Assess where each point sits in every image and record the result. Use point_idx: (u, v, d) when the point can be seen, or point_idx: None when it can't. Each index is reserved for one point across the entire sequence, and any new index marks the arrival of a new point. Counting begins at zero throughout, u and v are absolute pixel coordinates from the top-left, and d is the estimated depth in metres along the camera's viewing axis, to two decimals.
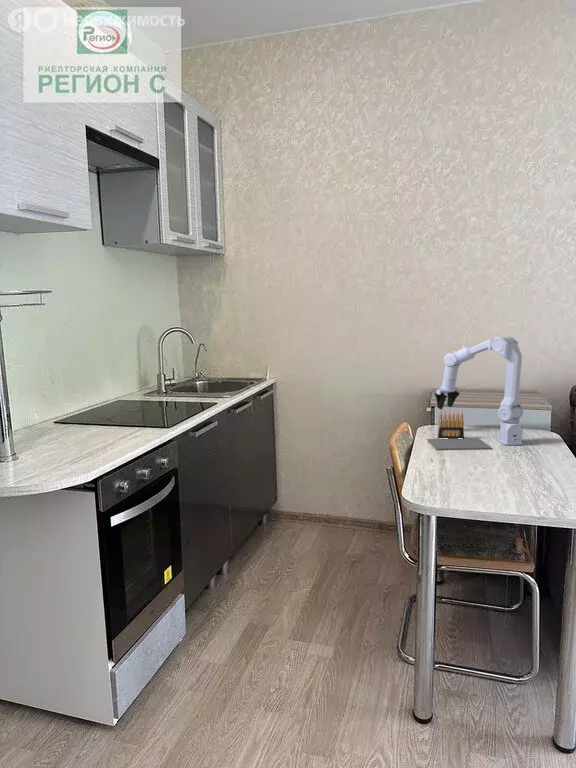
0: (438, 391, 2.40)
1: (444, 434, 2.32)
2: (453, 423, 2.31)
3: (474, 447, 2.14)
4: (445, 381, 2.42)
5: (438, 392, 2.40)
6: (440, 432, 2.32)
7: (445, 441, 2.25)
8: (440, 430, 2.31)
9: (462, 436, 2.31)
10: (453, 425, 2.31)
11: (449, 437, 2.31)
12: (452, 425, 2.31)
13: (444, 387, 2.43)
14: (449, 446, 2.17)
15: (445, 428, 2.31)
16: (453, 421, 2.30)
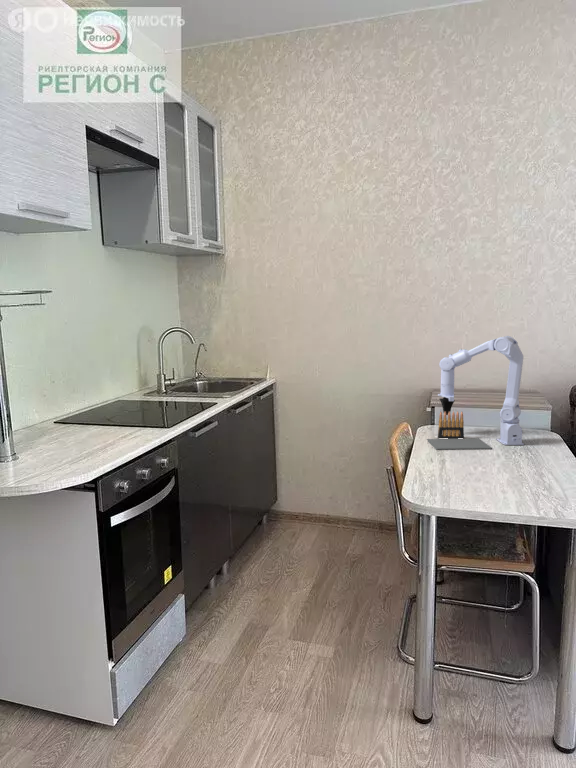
0: (452, 398, 2.30)
1: (444, 434, 2.32)
2: (453, 423, 2.31)
3: (474, 447, 2.14)
4: (448, 387, 2.33)
5: (452, 399, 2.30)
6: (440, 432, 2.32)
7: (445, 441, 2.25)
8: (440, 430, 2.31)
9: (462, 436, 2.31)
10: (453, 425, 2.31)
11: (449, 437, 2.31)
12: (452, 425, 2.31)
13: (448, 393, 2.34)
14: (449, 446, 2.17)
15: (445, 428, 2.31)
16: (453, 421, 2.30)
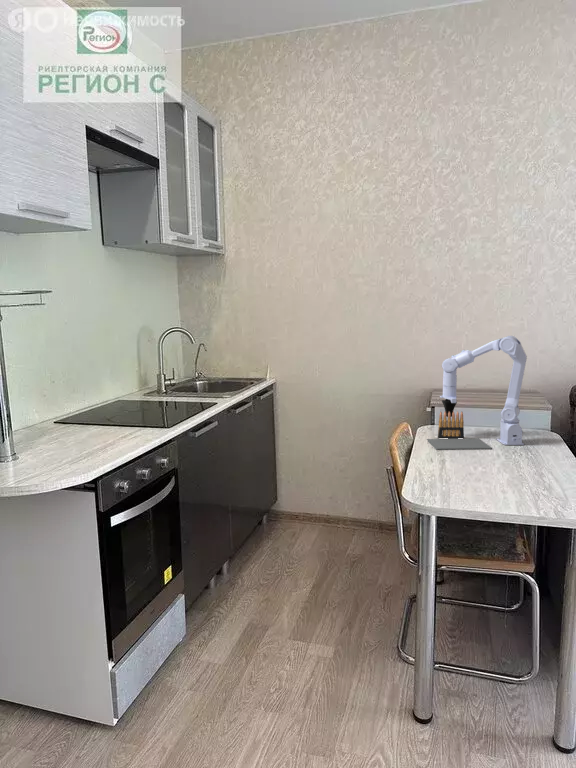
0: (454, 399, 2.26)
1: (444, 434, 2.32)
2: (453, 423, 2.31)
3: (474, 447, 2.14)
4: (451, 388, 2.30)
5: (454, 401, 2.26)
6: (440, 432, 2.32)
7: (445, 441, 2.25)
8: (440, 430, 2.31)
9: (462, 436, 2.31)
10: (453, 425, 2.31)
11: (449, 437, 2.31)
12: (452, 425, 2.31)
13: (451, 395, 2.30)
14: (449, 446, 2.17)
15: (445, 428, 2.31)
16: (453, 421, 2.30)
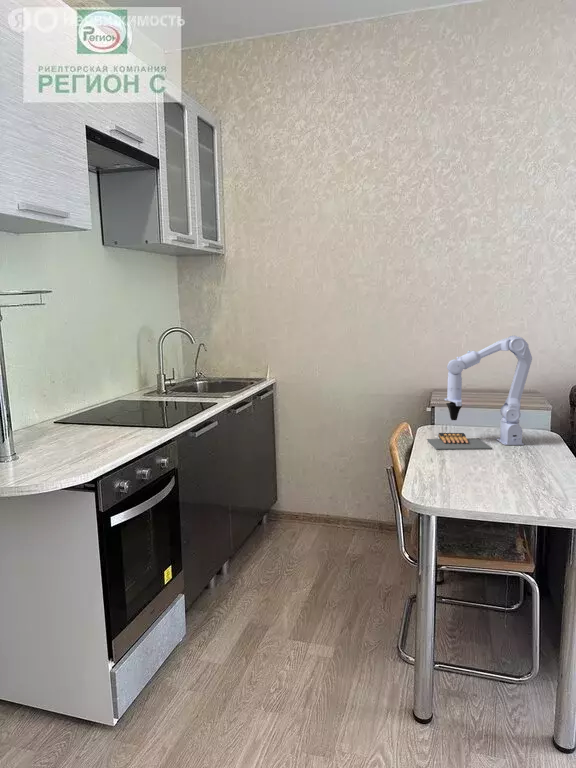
0: (459, 402, 2.19)
1: None
2: None
3: (474, 447, 2.14)
4: (456, 391, 2.23)
5: (459, 404, 2.19)
6: None
7: None
8: None
9: None
10: None
11: None
12: (454, 440, 2.25)
13: (455, 397, 2.23)
14: (449, 446, 2.17)
15: None
16: (456, 441, 2.24)
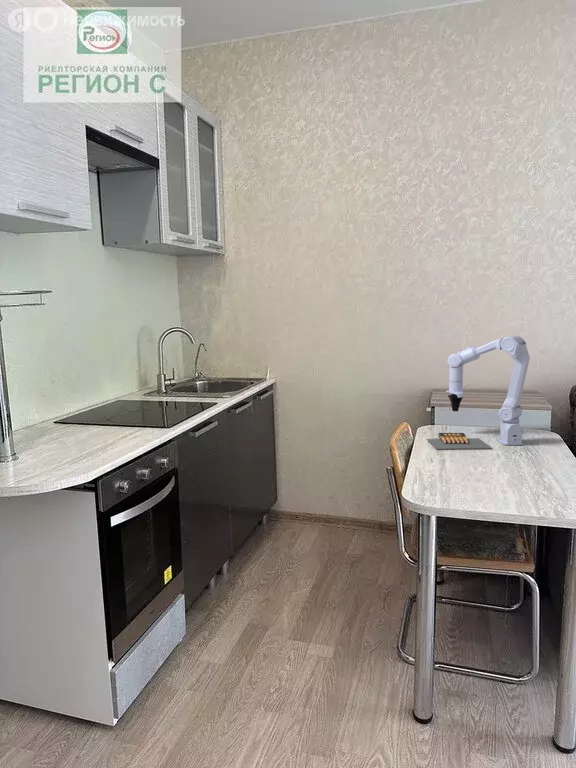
0: (460, 394, 2.30)
1: None
2: None
3: (474, 447, 2.14)
4: (457, 383, 2.34)
5: (461, 395, 2.30)
6: None
7: None
8: None
9: None
10: None
11: None
12: (454, 440, 2.25)
13: (457, 390, 2.35)
14: (449, 446, 2.17)
15: None
16: (456, 441, 2.24)
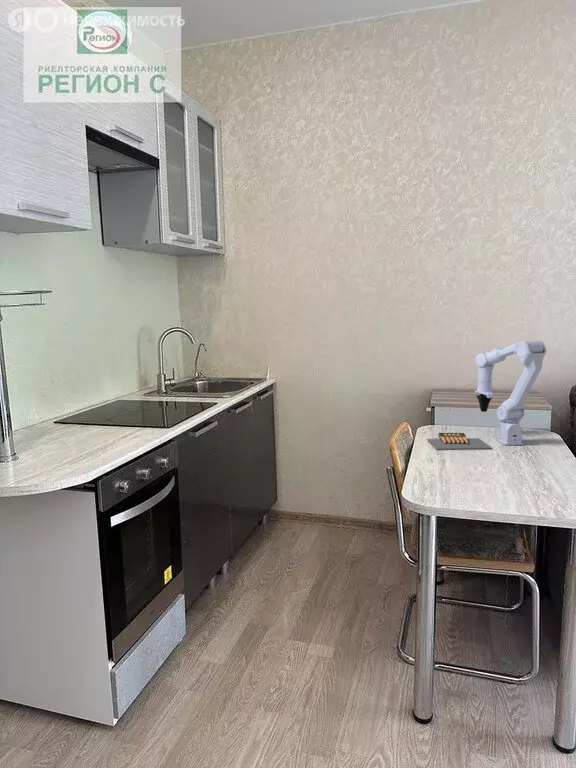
0: (490, 394, 2.28)
1: None
2: None
3: (474, 447, 2.14)
4: (486, 383, 2.32)
5: (490, 395, 2.28)
6: None
7: None
8: None
9: None
10: None
11: None
12: (454, 440, 2.25)
13: (486, 390, 2.32)
14: (449, 446, 2.17)
15: None
16: (456, 441, 2.24)
